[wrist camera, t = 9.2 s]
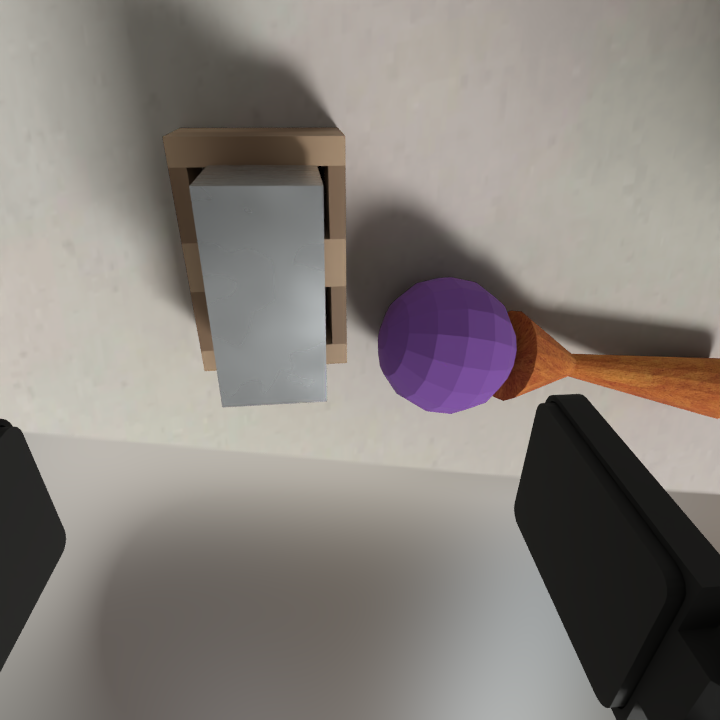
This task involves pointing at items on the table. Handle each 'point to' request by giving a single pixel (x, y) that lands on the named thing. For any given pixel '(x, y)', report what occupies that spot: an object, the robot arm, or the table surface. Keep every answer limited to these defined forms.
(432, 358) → the kendama
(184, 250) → the wooden frame
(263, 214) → the steel brick
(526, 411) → the table surface
